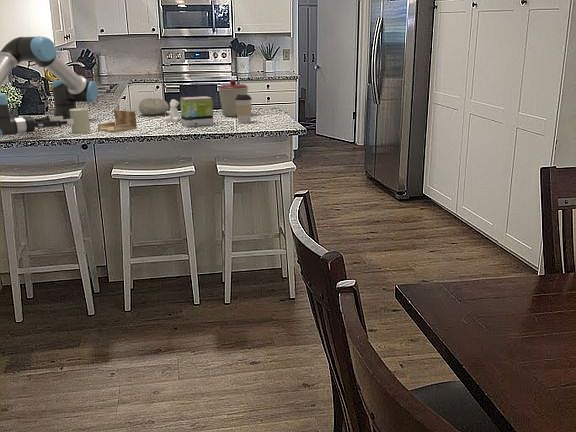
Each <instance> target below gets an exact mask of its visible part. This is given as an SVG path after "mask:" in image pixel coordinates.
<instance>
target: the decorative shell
mask: <svg viewBox="0 0 576 432" xmlns="http://www.w3.org/2000/svg"><path fill="white" fill-rule="evenodd" d="M138 110H139V112H140V113H141V114H143V115H146V116H157V115H163V114H166V113H167V112H169V110H170V104H169V103H168V102H167V101H166V100H164V99H162V98H158V97H157V98H152V97H150V98H144V99H142V100H141V101H140V102H139V104H138Z"/></svg>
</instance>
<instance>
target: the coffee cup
mask: <svg viewBox="0 0 576 432" xmlns="http://www.w3.org/2000/svg"><path fill="white" fill-rule="evenodd" d="M235 100H236V110H237V116H238V117H237V123H238V124H249V123H251V121H252V120H251V119H252V117H251V116H252V96H251V95H250V94H247V95H239V94H238V95H237V97H236V99H235Z"/></svg>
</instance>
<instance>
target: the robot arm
mask: <svg viewBox="0 0 576 432" xmlns="http://www.w3.org/2000/svg"><path fill="white" fill-rule="evenodd" d="M55 46H56V45H55V43H54V42H53V41H52V40H51V39H50V38H49V37H47V36H46V37H45V36H40V35H39V36H19V37H15V38H13V39H12V40H10V41H8V42H7V43H6V44H5V45H4V46H3V47H2V49H1V50H0V88H1V86H2V85H3V84H4V82H5V81H6V79H7V78H8V76H9V74H10V73H11V72H12V70H13V68H16V67H18V65H19V64H20V63H21V62H24V61H25V62H26V61H27V62H34V63H35V64H36V65H37V66H39V67H40V68H45V69H46V70H48V72H50V73H51V74H52V75H53V76H54V77H55V78H57V79H58V80H54V81H52V83H51V90H52V95H53V102H54V110H53V111H54V112H53V116H50V115H46V116H44V117H39V118H35V119H34V118H33V117H32V116H23V117H22V116H20V117H19V116H18V117H12V118H11V115H10V108H9V107H10V106H9V102H8V97H7V94H5V92H4V93H3V92H0V137H1V136H2V137H3V136H9V135H16V134H18V135H21V134H24V133H34V132H35V129H36V128H38V129H39V128H40V129H41V128H54V127H56V128H57V127H59V128H62V127H63V126H69V125H70V126H72V124H74V123H73V119H71V117H70V111H69V110H70V109H75V108H78V107H77V103H94V102H96V101H97V99H98V95H99V86H98V84H97V83H96V82H95V81H93V80H90V81H89V80H87V78H85V76H83V75H78V73H76V72H75V71H74V70H73V69H71V67H70V66H69V65H68V64H67V63H65V62H64V60H62V59H61V58H60V57H59V56H58V55H57V47H55Z"/></svg>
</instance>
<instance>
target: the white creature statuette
mask: <svg viewBox="0 0 576 432" xmlns="http://www.w3.org/2000/svg"><path fill="white" fill-rule="evenodd" d="M179 105H180V101H177V100H176V99H175V98H174V99H171V100H170V102H169V109H168V113H169V115H167V116H165V117H163V118H162V121H163V122H164V121H166V122H170V121H171V122H172V121H173V122H172V123H178V122H179V121H181V114H180V113H179V109H178V108H177V107H178V106H179Z"/></svg>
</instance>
